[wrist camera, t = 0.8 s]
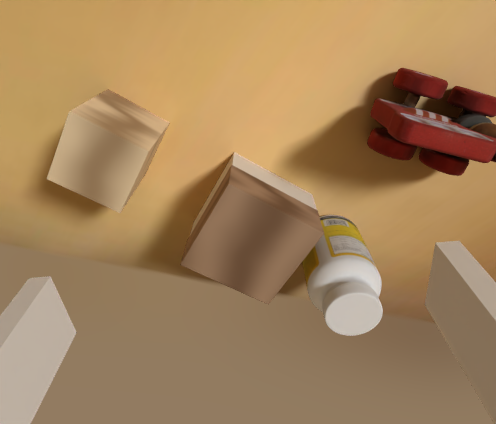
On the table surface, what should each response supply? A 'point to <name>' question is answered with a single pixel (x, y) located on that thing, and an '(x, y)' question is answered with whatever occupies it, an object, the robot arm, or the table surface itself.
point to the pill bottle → (343, 278)
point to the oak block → (106, 149)
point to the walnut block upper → (251, 236)
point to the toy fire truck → (435, 125)
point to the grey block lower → (263, 176)
